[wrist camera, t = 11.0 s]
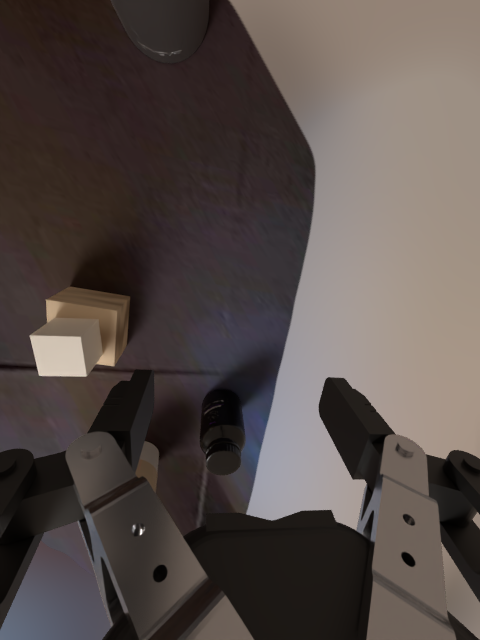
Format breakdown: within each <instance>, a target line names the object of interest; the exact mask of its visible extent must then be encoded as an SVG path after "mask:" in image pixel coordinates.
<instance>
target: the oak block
mask: <svg viewBox="0 0 480 640" xmlns="http://www.w3.org/2000/svg"><path fill="white" fill-rule="evenodd" d="M46 306H47V323H48V322H50V321H51V320H52V319H54V318H82V319H99V327H100V335H101V343H102V351H103V355H102V356H101V358H100V359H99V361H98V362H97V363H96V364H101V365H109V366H115V364H116V362H117V361H118V359H119V357H120V356H121V354H122V353H123V351H124V349H125V348H126V346H127V336H128V322H129V308H130V296H124V295H118V294H112V293H106V292H100V291H94V290H88V289H82V288H76V287H68V288H66V289H64V290H63V291H61V292H59V293H57V294H55V295H54V296H52V297H50V298H48V299H46Z"/></svg>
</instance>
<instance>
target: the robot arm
mask: <svg viewBox="0 0 480 640" xmlns="http://www.w3.org/2000/svg"><path fill="white" fill-rule="evenodd" d="M111 2H112V4H113V6H114V8H115V10H116V12H117V15H118V17H119V19H120V21H121V23H122V25H123V27H124V29H125V30H126V32H127V34H128V36H129V38H130V39H131V40H132V42H133V43H134V44H135V46H136V47H137V48H138V49H139V50H141V51H142V52H143V53H144V54H145V55H147V56H148V57H150V58H152V59H153V60H156V61H159V62H162V63H176V62H181V61H183V60H185V59H187V58H188V57H190V56H191V55H192V54H193V53H194V52H195V51H196V50H197V49H198V47H199V46H200V44H201V43H202V41H203V38H204V36H205V33H206V30H207V26H208V21H209V0H111ZM153 408H154V371H153V370H135V371H134V374H133V376H132V378H131V380H130V381H120V382H119V383H118V384H117V385H115V386H114V387H113V388H112V389H111V391H110V393H109V395H108V397H107V399H106V400H105V402H104V404H103V406H102V408H101V409H100V411H99V413H98V415H97V417H96V419H95V420H94V422H93V424H92V426H91V428H90V430H89V431H88V433H87V434H85V435H83V436H81V437H79V438H78V439H76V440H75V441H74V442H73V443H71V445H70V446H69V447H68V449H67V450H66V451H63V452H61V453H57V454H53V455H49V456H45V457H40V458H36V459H34V457H33V454H32V453H31V452H30V451H28V450H26V449H11V450H7V451H4V452H1V453H0V629H1V627H2V624H3V622H4V620H5V618H6V616H7V613H8V611H9V609H10V607H11V605H12V602H13V600H14V598H15V596H16V593H17V591H18V589H19V587H20V585H21V583H22V580H23V578H24V576H25V574H26V572H27V569H28V567H29V565H30V563H31V560H32V558H33V556H34V554H35V552H36V549H37V547H38V545H39V543H40V541H41V538H42V536H43V534H44V532H47V531H50V530H52V529H55V528H58V527H61V526H64V525H67V524H70V523H73V522H76V521H77V522H78V525H79V528H80V531H81V534H82V536H83V539H84V542H85V545H86V548H87V551H88V554H89V557H90V560H91V563H92V565H93V568H94V572H95V575H96V578H97V582H98V586H99V590H100V594H101V597H102V600H103V604H104V607H105V610H106V612H107V615H108V618H109V621H110V624H111V628H110V630H109V631H108V632H107V634H106V635H105V637H104V638H103V639H102V640H479V639H478V638H477V637H475V636H474V634H473V633H471V632H470V631H469V630H468V629H467V628H466V627H465V626H464V625H463V624H461V623H460V622H459V621H458V620H457V619H456V618H455V617H454V616H452V615H451V614H450V613H449V612H448V611H447V605H446V593H445V581H444V570H443V558H442V547H441V542H442V544H443V545H444V547H445V548H446V550H447V551H448V553H449V555H450V556H451V558H452V559H453V561H454V563H455V564H456V566H457V567H458V569H459V570H460V572H461V574H462V575H463V577H464V578H465V580H466V581H467V583H468V584H469V586H470V588H471V589H472V591H473V592H474V594H475V596H476V597H477V599H478V600H479V602H480V529H479V528H478V527H477V525H476V524H475V523H474V522H473V520H472V519H473V518H474V516H475V515H476V513H477V512H478V513H479V514H480V459H479V458H477V457H476V456H473V455H471V454H469V453H467V452H464V451H459V450H454V451H451V452H450V453H449V455H448V456H447V458H446V459H442V458H438V457H434V456H430V455H426V454H425V452H424V451H423V449H422V448H421V447H420V446H419V445H417V444H416V443H415V442H413V441H412V440H410V439H408V438H406V437H403V436H400V435H396V434H395V433H394V432H393V430H392V429H391V428H390V427H389V426H388V424H387V423H386V422H385V421H384V419H383V418H382V417H381V416H380V415H379V413H378V412H376V410H375V408H374V407H373V406H371V403H370V402H369V401H368V400H367V399H366V397H365V396H364V395H362V394H361V393H360V392H358V391H357V390H356V389H352V387H351V386H350V385H349V383H348V382H347V381H346V380H345V379H344V378H330V377H328V378H327V379H326V380H325V383H324V387H323V391H322V395H321V398H320V402H319V414H320V417H321V419H322V421H323V423H324V425H325V427H326V429H327V431H328V433H329V435H330V436H331V438H332V440H333V442H334V444H335V446H336V448H337V450H338V452H339V453H340V456H341V457H342V459H343V462H344V463H345V465H346V467H347V469H348V471H349V473H350V475H351V477H352V479H365V481H366V483H367V484H366V487H365V490H364V494H363V500H362V505H361V510H360V516H359V521H358V525H357V530H354V529H352V528H350V527H348V526H346V525H343V524H341V523H338V522H336V521H335V518H334V516H333V513H332V511H331V510H318V511H316V510H315V511H300V512H297V513H294V514H292V515H289V516H286V517H283V518H280V519H277V520H273V521H271V520H266V519H262V518H258V517H254V516H250V515H246V514H242V513H214V514H206V524H205V526H202V527H199V528H197V529H195V530H193V531H191V532H189V533H188V534H186V535H185V536H182V535H181V533H180V531H179V530H178V528H177V527H176V525H175V523H174V522H173V520H172V519H171V517H170V515H169V514H168V512H167V511H166V509H165V507H164V506H163V504H162V503H161V501H160V499H159V498H158V496H157V495H156V493H155V491H154V490H153V488H152V487H151V485H150V483H149V482H148V480H147V479H146V478H145V477H144V476H142V477H140V478H138V477H137V476H136V474H135V473H136V469H137V466H138V462H139V459H140V455H141V452H142V448H143V445H144V441H145V438H146V434H147V431H148V427H149V424H150V420H151V417H152V413H153Z"/></svg>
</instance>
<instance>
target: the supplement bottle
mask: <svg viewBox="0 0 480 640" xmlns="http://www.w3.org/2000/svg"><path fill="white" fill-rule="evenodd" d="M245 441H246V438H245V429H244V422H243V414H242V406H241V401H240V399H239V397H238V396H237V395H236V394H235V393H233V392H232V391H229V390H216V391H213V392H211V393H210V394H208V395H207V396H206V397H205V399H204V401H203V404H202V414H201V429H200V446H201V449H202V451H203V452H204V453H205V454H206V467H207V468H208V470H209V471H210V472H211V473H214V474H216V475H228V474H231V473H234V472H235V471H236V470H237V469H238V468H239V467H240V465H241V451H242V450H243V448H244V446H245Z"/></svg>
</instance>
